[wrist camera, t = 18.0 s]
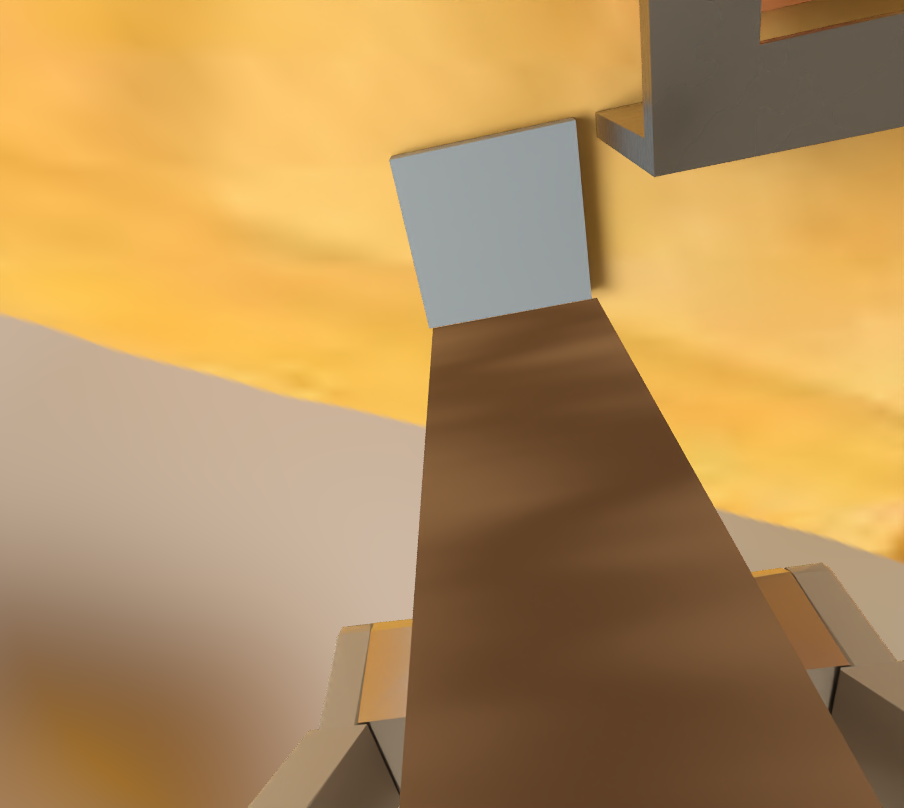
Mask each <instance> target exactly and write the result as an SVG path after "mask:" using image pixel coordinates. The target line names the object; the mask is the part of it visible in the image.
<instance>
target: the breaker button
mask: <svg viewBox="0 0 904 808" xmlns="http://www.w3.org/2000/svg"><path fill="white" fill-rule="evenodd" d="M808 1H812V0H762V2H761V12H764V11H768V10H773V9H777V8H782V7H786V6H790V5H795V4H799V3H804V2H808Z"/></svg>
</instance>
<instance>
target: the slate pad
mask: <svg viewBox="0 0 904 808" xmlns="http://www.w3.org/2000/svg"><path fill="white" fill-rule="evenodd" d="M389 161H390V165H391V169H392V173H393V178H394V182H395V186H396V190H397V194H398V199H399V203H400V207H401V211H402V215H403V220H404V224H405V228H406V232H407V236H408V241H409V245H410V249H411V253H412V257H413V262H414V266H415V270H416V274H417V278H418V283H419V287H420V291H421V295H422V299H423V304H424V308H425V312H426V316H427V320H428V325H429V328H434V327H440V326H445V325H451V324H456V323H462V322H467V321H473V320H478V319H483V318H489V317H494V316H500V315H505V314H511V313H516V312H522V311H527V310H532V309H538V308H543V307H549V306H554V305H560V304H565V303H571V302H576V301H582V300H587V299H592V297H591V286H590V275H589V264H588V252H587V241H586V230H585V219H584V207H583V196H582V185H581V174H580V163H579V151H578V140H577V129H576V120H575V119H573V118H572V117H571V118H567V119H562V120H557V121H553V122H548V123H543V124H539V125H534V126H530V127H525V128H520V129H516V130H511V131H506V132H502V133H497V134H492V135H488V136H483V137H479V138H474V139H469V140H465V141H460V142H455V143H451V144H446V145H441V146H437V147H432V148H428V149H423V150H418V151H414V152H409V153H404V154H400V155H395V156H391V158H390V160H389Z"/></svg>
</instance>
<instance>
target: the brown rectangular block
mask: <svg viewBox="0 0 904 808" xmlns="http://www.w3.org/2000/svg"><path fill="white" fill-rule="evenodd" d="M399 808H883V807H882V805H881V803H880V801H879V800H878V798H877V796H876V794H875V792H874V791H873V789H872V787H871V785H870V784H869V782H868V780H867V778H866V776H865V775H864V773H863V771H862V769H861V768H860V766H859V764H858V762H857V760H856V759H855V757H854V755H853V753H852V751H851V750H850V748H849V746H848V744H847V743H846V741H845V739H844V737H843V735H842V734H841V732H840V730H839V728H838V727H837V725H836V723H835V721H834V719H833V718H832V716H831V714H830V712H829V711H828V709H827V707H826V705H825V703H824V702H823V700H822V698H821V696H820V695H819V693H818V691H817V689H816V687H815V686H814V684H813V682H812V680H811V678H810V677H809V675H808V673H807V671H806V670H805V668H804V666H803V664H802V662H801V661H800V659H799V657H798V655H797V654H796V652H795V650H794V648H793V646H792V645H791V643H790V641H789V639H788V638H787V636H786V634H785V632H784V630H783V629H782V627H781V625H780V623H779V622H778V620H777V618H776V616H775V614H774V613H773V611H772V609H771V607H770V606H769V604H768V602H767V600H766V598H765V597H764V595H763V593H762V591H761V589H760V588H759V586H758V584H757V582H756V581H755V579H754V577H753V575H752V573H751V572H750V570H749V568H748V566H747V565H746V563H745V561H744V559H743V557H742V556H741V554H740V552H739V550H738V549H737V547H736V545H735V543H734V541H733V540H732V538H731V536H730V534H729V533H728V531H727V529H726V527H725V525H724V524H723V522H722V520H721V518H720V516H719V515H718V513H717V511H716V509H715V508H714V506H713V504H712V502H711V500H710V499H709V497H708V495H707V493H706V492H705V490H704V488H703V486H702V484H701V483H700V481H699V479H698V477H697V476H696V474H695V472H694V470H693V468H692V467H691V465H690V463H689V461H688V460H687V458H686V456H685V454H684V452H683V451H682V449H681V447H680V445H679V443H678V442H677V440H676V438H675V436H674V435H673V433H672V431H671V429H670V427H669V426H668V424H667V422H666V420H665V419H664V417H663V415H662V413H661V411H660V410H659V408H658V406H657V404H656V403H655V401H654V399H653V397H652V395H651V394H650V392H649V390H648V388H647V387H646V385H645V383H644V381H643V379H642V378H641V376H640V374H639V372H638V370H637V369H636V367H635V365H634V363H633V362H632V360H631V358H630V356H629V354H628V353H627V351H626V349H625V347H624V346H623V344H622V342H621V340H620V338H619V337H618V335H617V333H616V331H615V330H614V328H613V326H612V324H611V322H610V321H609V319H608V317H607V315H606V314H605V312H604V310H603V308H602V306H601V305H600V303H599V301H598V299H597V298H594V299H588V300H583V301H578V302H572V303H567V304H561V305H556V306H551V307H545V308H540V309H534V310H529V311H524V312H518V313H513V314H507V315H502V316H497V317H491V318H486V319H480V320H475V321H470V322H464V323H459V324H453V325H448V326H443V327H437V328H433V337H432V351H431V366H430V380H429V394H428V408H427V422H426V437H425V451H424V465H423V480H422V493H421V509H420V522H419V536H418V550H417V565H416V579H415V593H414V607H413V621H412V635H411V649H410V664H409V678H408V692H407V706H406V720H405V735H404V749H403V763H402V777H401V791H400V806H399Z"/></svg>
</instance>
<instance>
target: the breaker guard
mask: <svg viewBox="0 0 904 808" xmlns="http://www.w3.org/2000/svg"><path fill="white" fill-rule="evenodd" d="M761 2H762V0H639V5H640V32H641V59H642V86H643V102H641V103H636V104H632V105H627V106H622V107H618V108H613V109H608V110H604V111H599V112H595V117H596V130H597V137H598V138H599V139H600V140H602V141H603V142H605V143H606V144H608V145H609V146H611V147H612V148H613V149H615V150H616V151H618V152H619V153H621V154H622V155H623V156H625V157H626V158H628V159H629V160H631V161H632V162H634V163H635V164H636V165H638V166H639V167H641V168H642V169H644V170H645V171H646V172H648V173H649V174H651V175H652V176H654V177H656V176H661V175H666V174H671V173H676V172H681V171H686V170H691V169H696V168H701V167H706V166H711V165H716V164H720V163H725V162H730V161H735V160H740V159H745V158H750V157H755V156H760V155H765V154H770V153H775V152H780V151H785V150H790V149H795V148H800V147H804V146H809V145H814V144H819V143H824V142H829V141H834V140H839V139H844V138H849V137H854V136H859V135H864V134H869V133H874V132H879V131H883V130H888V129H893V128H898V127H903V126H904V10H899V11H895V12H890V13H886V14H881V15H877V16H872V17H868V18H863V19H859V20H854V21H850V22H845V23H841V24H836V25H832V26H827V27H822V28H818V29H813V30H809V31H804V32H800V33H795V34H791V35H786V36H782V37H777V38H773V39H768V40H764V41H760V23H761Z"/></svg>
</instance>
